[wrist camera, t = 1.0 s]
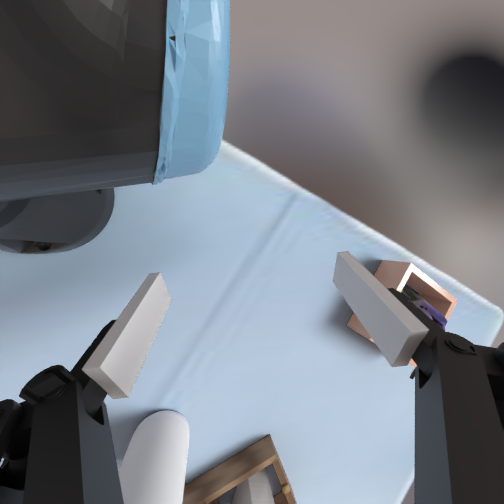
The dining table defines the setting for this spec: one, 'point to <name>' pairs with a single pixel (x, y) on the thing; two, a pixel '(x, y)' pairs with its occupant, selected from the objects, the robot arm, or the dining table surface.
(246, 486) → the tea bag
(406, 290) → the flower
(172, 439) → the pill bottle
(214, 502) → the slot rack
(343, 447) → the dining table surface
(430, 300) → the flower planter
